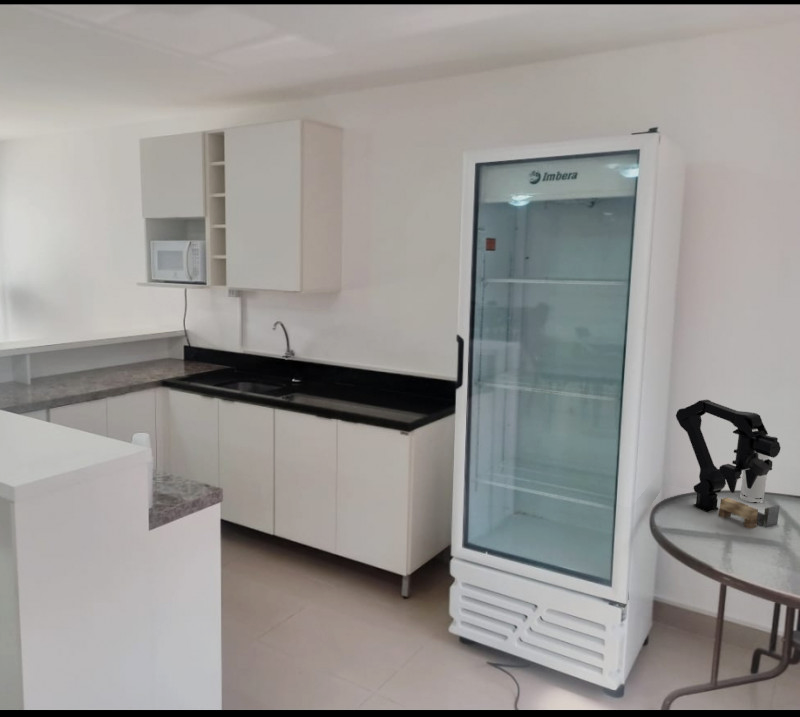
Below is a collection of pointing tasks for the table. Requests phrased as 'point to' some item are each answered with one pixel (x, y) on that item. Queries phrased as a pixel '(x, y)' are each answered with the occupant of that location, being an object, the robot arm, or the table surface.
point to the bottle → (754, 485)
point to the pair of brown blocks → (747, 523)
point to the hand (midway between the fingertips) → (740, 490)
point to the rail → (739, 509)
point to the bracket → (768, 516)
